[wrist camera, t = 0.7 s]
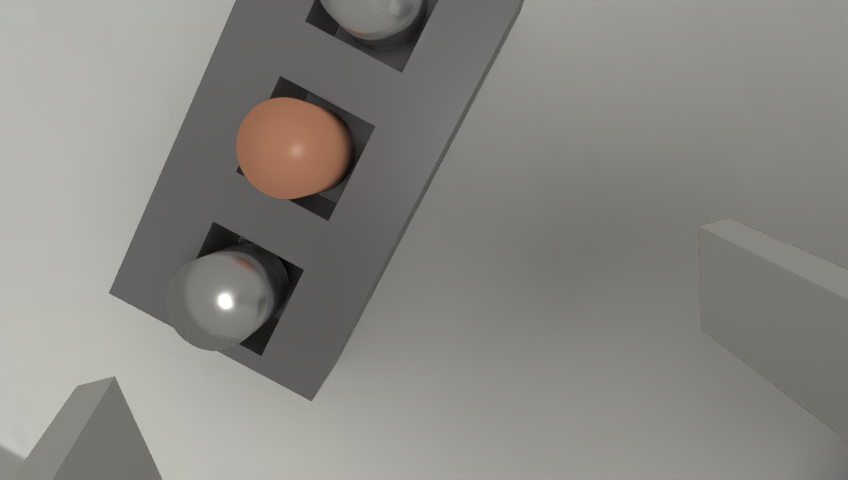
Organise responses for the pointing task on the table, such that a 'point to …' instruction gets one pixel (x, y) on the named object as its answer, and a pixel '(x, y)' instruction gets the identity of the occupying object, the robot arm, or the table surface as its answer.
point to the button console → (312, 215)
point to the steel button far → (226, 295)
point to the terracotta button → (294, 148)
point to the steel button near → (379, 20)
